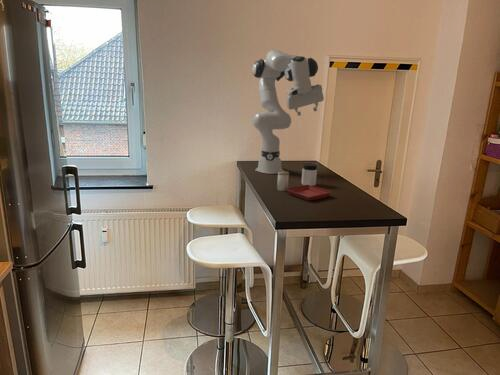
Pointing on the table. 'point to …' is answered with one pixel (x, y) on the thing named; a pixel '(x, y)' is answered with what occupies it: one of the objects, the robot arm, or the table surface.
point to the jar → (309, 174)
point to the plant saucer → (308, 192)
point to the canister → (282, 180)
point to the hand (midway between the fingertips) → (307, 113)
